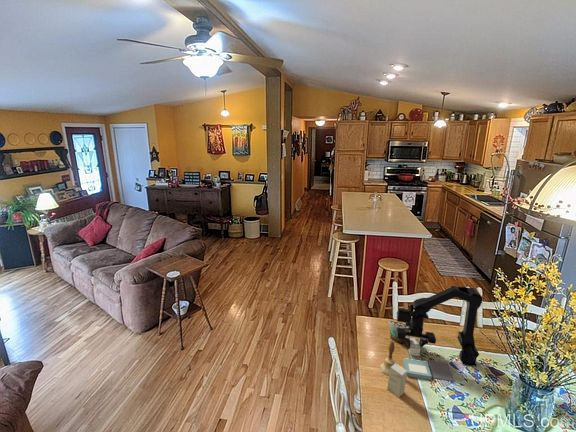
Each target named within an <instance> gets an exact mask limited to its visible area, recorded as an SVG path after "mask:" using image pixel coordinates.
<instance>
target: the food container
mask: <svg viewBox="0 0 576 432" xmlns="http://www.w3.org/2000/svg"><path fill="white" fill-rule="evenodd" d="M388 326H389V337H390V339H391V340H392V341H393V342H394V343H399V344H404V343H407V342H406V341H405V340H404V339H399V338H397V333H396V329H397V328H402V329H405V332H410V331H409V326H406V324H404V323H403V322H398V321H392V320H391V319H389V321H388Z"/></svg>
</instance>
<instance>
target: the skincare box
mask: <svg viewBox="0 0 576 432" xmlns="http://www.w3.org/2000/svg"><path fill="white" fill-rule="evenodd" d="M407 372H408V371H407V370H406V369H405V367H402V366H401V365H399V364H398V363H396V362H395V364H393V365H392V366H391V367H390V374H389V375H388V381H387V390H388V391H389V392H391V393H392V394H394V395H395V396H396V397H397V398H400V397H401V396H403V394H405V389H406V384H407V378H408V376H407Z"/></svg>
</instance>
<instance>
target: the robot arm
mask: <svg viewBox="0 0 576 432" xmlns="http://www.w3.org/2000/svg"><path fill="white" fill-rule="evenodd" d="M455 298H459V299H460V300H462V301H465V302H466V308H465V316H464V317H465V318H464V322H463V330H462V331H459V330H458V331H457V332H458V334H457V340H458V342H459V344H460V347H461V350H460V351H459V354H458V358H459V360H460V362H461V364H462V365H463V366H464V365H465V366H470V367H477V366H478V365H477V363H476V362H477V358H478V357H479V356H480V353H479V351H478V349H477V347H476V344H475V337H474V331H475V326H476V321H477V315H478V314H477V313H478V310H479V309H480V307H481V306H482V302H483V300H484V298H483V297H482V295H481V293H480V292H479V290H478V289H476V288H475V287H466V286H456V285H452V286H451V285H450V287H448V288H446V289H444V290H442V291H440V292H437V293H435V294H433V295H431V296H429V297H421V298H417V299H414V301H413V303H412V304H411V305H409V307H407V308H408V309H403V308H399V307H398V308H397V309H398V310H397V311H396V322H398V323H405V325H406V326H409V331H410V332H405V329H402V328H397V329H396V333H397V338H399V339H404V340H405V341H406V342H405V343H407V348H408V350H409V349H410V338H416V339H419V344H420V347H421V348H420V350H421V349H422V348H423V347H424V346H426V345H428V344H434V345H435V344H436V343H437V337H436V335H435V333H434V332H432V331H431V332H430V331H425V333H424V322H425V319H427V320H429V319H430V318H429V314H428V312H430V311H431V310H432V308H434V307H436V306H439V305H441V304H442V303H445V302H447V301H449V300H451V299H455Z"/></svg>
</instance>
